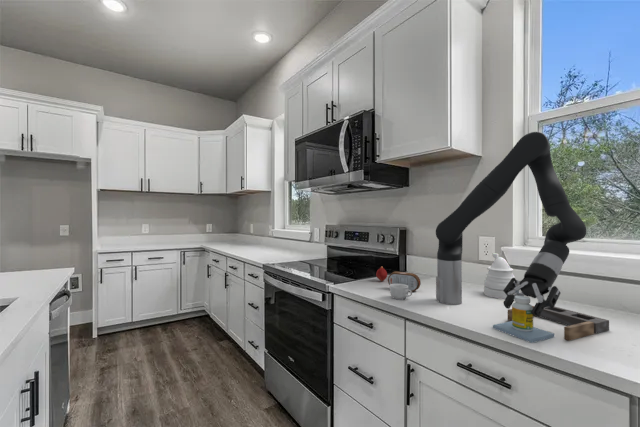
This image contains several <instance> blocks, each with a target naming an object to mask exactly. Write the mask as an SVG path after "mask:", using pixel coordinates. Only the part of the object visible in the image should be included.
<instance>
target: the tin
mask: <svg viewBox="0 0 640 427" xmlns="http://www.w3.org/2000/svg"><path fill="white" fill-rule="evenodd" d="M387 282H388V285H389V286H390V284H404V285H408V290H411V291H412V292H416V291H417V290H418V289H420V286H421V284H422V283H421V279H420V277H419V276H418V275H417V274H416V273H413V272H404V271H396V270H395V271H392V272H391V273H390V274H389V275H388V276H387Z"/></svg>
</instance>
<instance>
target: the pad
mask: <svg viewBox="0 0 640 427" xmlns="http://www.w3.org/2000/svg"><path fill="white" fill-rule="evenodd" d="M492 329H494V330H497V331H499V330H500V332H502V331H503V333H505V332H506V333H505V334H507V333H508V335H510V334H511V336H512V335H514V336H513V337H515V336H516V337H515V338H517V339H518V338H519V339H520V338H521V340H523V339H524V340H523V341H525V342H528V341H529V343H531V344H533V343H536V341H537V342H540V340H541V341H544V340H548V339H552V338H555V333H554V332H552V331H548V330H544V329H541V328H539V327H535V326H533V331H531V332H523V331H519V330H516V329H514V328H513V326H512V321H506V322H500V323H496V324H492ZM532 342H533V343H532Z"/></svg>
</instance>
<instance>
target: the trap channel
mask: <svg viewBox="0 0 640 427" xmlns="http://www.w3.org/2000/svg"><path fill="white" fill-rule="evenodd" d="M534 306H535V305H532V307H533V308H534ZM538 317H539V318H541V319H544V320H545V319H546V320H549V321H552V322H556V323H559V324H562V325H565V326H564V327H563V329H564V330H563V339H564V340H566V341H569V342H570V341H574V340H577V339H581V338H585V337H588V336H592V335H596V334H599V333H603V332H607V331H610V319H605V318H601V317H597V316H595V315H594V316H593V315H590V314H586V313H581V312H579V311H578V312H577V311H574V310H570V309H566V308H562V307H558V306H556V305H555V306H554V307H553V308H550V307H546V308H544V309H543V311H542V313H541V314H540V315H539V316H538ZM538 317H537V318H538ZM533 318H535V317H534V316H533ZM507 321H508V322H510V321H512V308H509V309H508V308H507Z"/></svg>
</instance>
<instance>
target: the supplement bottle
mask: <svg viewBox="0 0 640 427" xmlns="http://www.w3.org/2000/svg"><path fill="white" fill-rule="evenodd" d="M532 306H533V305H532V304H531V297H528V296H515V299H514V302H513V303H512V305H511V309H512V326H513V328H514V329H516V330H519V331H523V332H531V331H533V327H534V317H533V315H532V314H531V311H532V309H533V307H532Z"/></svg>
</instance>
